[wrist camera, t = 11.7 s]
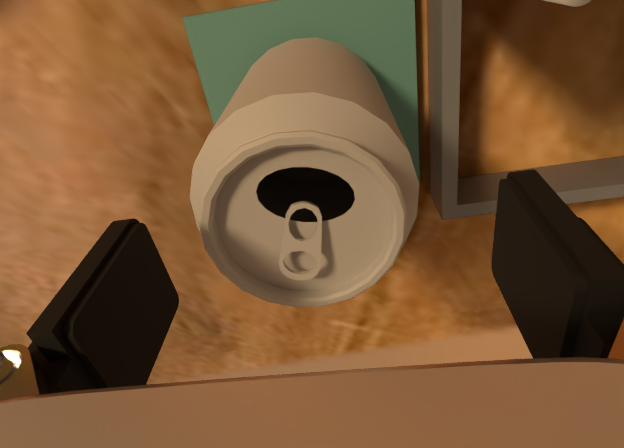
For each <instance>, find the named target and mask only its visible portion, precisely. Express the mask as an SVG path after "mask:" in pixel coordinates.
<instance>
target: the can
mask: <svg viewBox="0 0 624 448" xmlns="http://www.w3.org/2000/svg"><path fill="white" fill-rule="evenodd" d="M418 195H419V182H418V179H417V176H416V172H415V169H414V166H413V162H412V159H411V156H410V153H409V150H408V148H407V146H406V144H405V141H404V139H403V137H402V135H401V133H400V130H399V128H398V126H397V124H396V121H395V119H394V117H393V115H392V113H391V110H390V108H389V106H388V104H387V102H386V99H385V97H384V95H383V93H382V90H381V88H380V86H379V84H378V82H377V79H376V77H375V76H374V74H373V73H372V72H371V70H370V69H369V68H368V66H367V65H366V64H365V62H364V61H363V60H362V58H361V57H359V56H358V55H357V54H355V53H354V52H352V51H351V50H349V49H348V48H346V47H345V46H343V45H342V44H340V43H336V42H332V41H329V40H325V39H321V38H317V37H314V38H301V39H291V40H289V41H287V42H284V43H282V44H280V45H278V46H275V47H273V48H271V49H269V50H268V51H267V52H266V53H265V54H264V55H263V56H262V57H260V58H259V59H258V60H257V61H256V62H255V63H254V64H253V65H252V66H251V68H250V69H249V71H248V73H247V74H246V76H245V77H244V79H243V81H242V82H241V84H240V85H239V87H238V89H237V90H236V92H235V94H234V95H233V97H232V98H231V100H230V102H229V103H228V105H227V106H226V108H225V110H224V111H223V113H222V114H221V116H220V118H219V119H218V121H217V122H216V124H215V126H214V127H213V129H212V130H211V132H210V134H209V135H208V137H207V139H206V141H205V143H204V145H203V147H202V149H201V151H200V153H199V155H198V157H197V159H196V161H195V163H194V165H193V171H192V181H191V191H190V200H191V204H192V208H193V212H194V216H195V219H196V223H197V227H198V229H199V231H200V232H201V235H202V239H203V243H204V247H205V250H206V251H207V253H208V254H209V256H210V257H211V259H212V260H213V262H214V263H215V265H216V266H217V268H218V269H219V271H220V272H221V273H222V274H223V275H224V276H226V277H227V278H228V279H229V280H231V281H232V282H233V283H234V284H235V285H237V286H238V287H239V288H240V289H241V290H243V291H245V292H248V293H250V294H252V295H254V296H256V297H259V298H261V299H263V300H265V301H267V302H271V303H277V304H282V305H287V306H292V307H314V306H327V305H330V304H334V303H337V302H341V301H344V300H348V299H351V298H353V297H355V296H357V295H358V294H360V293H362V292H363V291H365V290H367V289H368V288H370V287H372V286H374V285H375V284H377V283H378V281H379V280H380V279H381V278H382V277H383V276H384V275H385V274H386V273H387V272H388V271H389V270H390V268H391V267H392V266H393V265H394V264H395V262H396V260H397V258H398V255H399V253H400V251H401V249H402V246H403V245H404V244H405V242H406V240H407V237H408V235H409V233H410V231H411V228H412V226H413V224H414V222H415V219H416V217H417V209H418Z"/></svg>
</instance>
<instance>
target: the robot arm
mask: <svg viewBox="0 0 624 448" xmlns="http://www.w3.org/2000/svg"><path fill="white" fill-rule="evenodd" d="M492 272H493V275H494V278H495V280H496V282H497V284H498V286H499V288H500V290H501V293H502V295H503V297H504V299H505V301H506V303H507V305H508V307H509V309H510V311H511V313H512V315H513V317H514V320H515V322H516V324H517V326H518V328H519V330H520V332H521V334H522V336H523V338H524V340H525V342H526V344H527V347H528V349H529V351H530V353H531V354H532V357H533V359H510V360H494V361H476V362H458V363H443V364H429V365H413V366H399V367H384V368H368V369H353V370H339V371H324V372H310V373H296V374H282V375H269V376H255V377H242V378H228V379H214V380H201V381H188V382H176V383H163V384H150V385H146V383H147V380H148V378H149V376H150V373H151V371H152V368H153V366H154V364H155V361H156V359H157V356H158V354H159V351H160V349H161V347H162V344H163V342H164V339H165V337H166V335H167V332H168V330H169V327H170V325H171V322H172V320H173V318H174V315H175V313H176V310H177V308H178V304H179V298H178V294H177V292H176V289H175V287H174V285H173V283H172V281H171V279H170V276H169V274H168V272H167V270H166V268H165V266H164V263H163V261H162V259H161V257H160V255H159V253H158V250H157V248H156V246H155V244H154V242H153V240H152V238H151V235H150V233H149V231H148V229H147V227H146V225H145V224H143V223H140V222H139V221H138V220H137V219H127V220H119V221H113V222H112V223H111V224H110V225H109V227H108V228H107V229H106V231H105V232H104V233H103V234H102V236H101V237H100V238H99V240H98V241H97V242H96V244H95V245H94V246H93V247H92V249H91V250H90V251H89V253H88V254H87V255H86V257H85V258H84V259H83V260H82V262H81V263H80V264H79V266H78V267H77V268H76V270H75V271H74V272H73V273H72V275H71V276H70V277H69V279H68V280H67V281H66V282H65V284H64V285H63V286H62V288H61V289H60V290H59V292H58V293H57V294H56V295H55V297H54V298H53V299H52V301H51V302H50V303H49V305H48V306H47V307H46V308H45V310H44V311H43V312H42V314H41V315H40V316H39V318H38V319H37V320H36V321H35V323H34V324H33V325H32V327H31V328H30V329H29V331H28V332H27V333H26V334H27V335H28V336H29V338H30V339H31V340H32V343H31V344H30V346H29V347H28V348H27V347H26V346H23V345H21V344H12V345H8V346H4V347H1V348H0V448H624V264H623V263H622V262H621V261H620V260H619V259H618V258H617V257H616V255H615V254H614V253H613V252H612V251H611V250H610V249H609V248H608V246H607V245H606V244H605V243H604V242H603V241H602V240H601V239H600V238H599V236H598V235H597V234H596V233H595V232H594V231H593V230H592V229H591V228H590V226H589V225H588V224H587V223H586V222H585V221H584V220H583V219H581V218H578V217H577V216H576V215H575V214H574V213H573V212H572V211H571V209H570V208H569V207H568V206H567V205H566V204H565V203H564V201H563V200H562V199H561V198H560V197H559V196H558V195H557V194H556V192H555V191H554V190H553V189H552V188H551V187H550V186H549V184H548V183H547V182H546V181H545V180H544V179H543V178H542V177H541V175H540V174H539V173H538V172H537V171H536V170H535V169H531V170H523V171H515V172H509V173H508V175H507V177H506V179H501V180H500V182H499V188H498V199H497V209H496V220H495V231H494V242H493V252H492Z"/></svg>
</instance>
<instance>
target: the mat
mask: <svg viewBox="0 0 624 448" xmlns="http://www.w3.org/2000/svg"><path fill="white" fill-rule="evenodd" d="M182 19H183V22H184V26H185V29H186V32H187V36H188V39H189V42H190V46H191V49H192V53H193V56H194V59H195V63H196V66H197V69H198V73H199V76H200V80H201V83H202V86H203V90H204V93H205V96H206V100H207V103H208V106H209V110H210V113H211V117H212V120H213V123H214V126H215V124H216V122H217V121H218V119H219V118H220V116H221V114H222V113H223V111H224V110H225V108H226V106H227V105H228V103H229V102H230V100H231V98H232V97H233V95H234V94H235V92H236V90H237V89H238V87H239V85H240V84H241V82H242V81H243V79H244V77H245V76H246V74H247V73H248V71H249V69H250V68H251V66H252V65H253V64H254V63H255V62H256V61H257V60H258V59H259V58H260V57H262V56H263V55H264V54H265V53H266V52H267V51H268V50H269V49H271V48H273V47H275V46H278V45H280V44H282V43H284V42H287V41H289V40H291V39H301V38H314V37H317V38H321V39H325V40H329V41H332V42H336V43H340V44H342V45H343V46H345V47H346V48H348V49H349V50H351V51H352V52H354V53H355V54H357V55H358V56H359V57H361V58H362V60H363V61H364V62H365V64H366V65H367V66H368V68H369V69H370V70H371V72H372V73H373V74H374V76H375V77H376V79H377V82H378V84H379V86H380V88H381V90H382V93H383V95H384V97H385V99H386V102H387V104H388V106H389V108H390V110H391V113H392V115H393V117H394V119H395V121H396V124H397V126H398V128H399V130H400V133H401V135H402V137H403V139H404V141H405V144H406V146H407V148H408V150H409V153H410V156H411V159H412V162H413V166H414V169H415V172H416V176H417V179H418V182H419V188H420V165H419V132H418V98H417V65H416V32H415V0H273V1H268V2H263V3H257V4H252V5H246V6H241V7H236V8H230V9H225V10H219V11H214V12H209V13H203V14H198V15H192V16H187V17H184V18H182Z"/></svg>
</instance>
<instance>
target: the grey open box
mask: <svg viewBox="0 0 624 448" xmlns="http://www.w3.org/2000/svg"><path fill="white" fill-rule="evenodd" d="M543 1H548V2H553V3H558V4H563V5H568V6H573V7H579V6H583V5H585V4H587V3H589V2H590V1H591V0H543ZM461 18H462V0H427V24H428V87H429V150H430V194H431V197H432V199H433V201H434V203H435V205H436V208H437V210H438V212H439V214H440V216H441V219H442V220H443V219H451V218H459V217H467V216H475V215H483V214H491V213H496V209H497V199H498V188H499V182H500V180H501V179H506V177H507V175H508V173H509V172H515V171H509V172H502V173H494V174H487V175H479V176H472V177H464V178H458V146H459V103H460V60H461ZM531 169H535V170H536V171H537V172H538V173H539V174H540V175H541V177H542V178H543V179H544V180H545V181H546V182H547V183H548V184H549V186H550V187H551V188H552V189H553V190H554V191H555V192H556V194H557V195H558V196H559V197H560V198H561V199H562V200H563V201H564V203H565V204H571V203H579V202H587V201H595V200H603V199H611V198H619V197H624V156H620V157H613V158H606V159H598V160H591V161H583V162H576V163H568V164H561V165H554V166H546V167H539V168H531ZM531 169H524V170H531ZM516 171H523V170H516Z"/></svg>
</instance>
